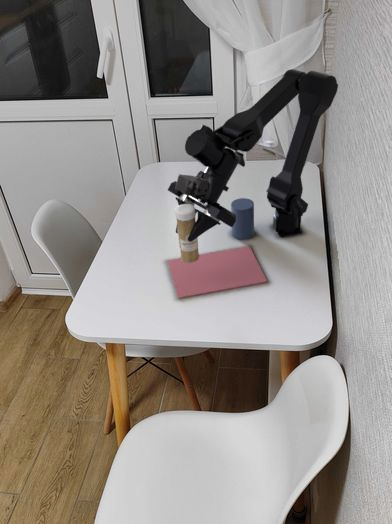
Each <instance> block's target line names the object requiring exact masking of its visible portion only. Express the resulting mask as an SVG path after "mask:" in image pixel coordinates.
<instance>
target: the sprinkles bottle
mask: <svg viewBox="0 0 392 524" xmlns="http://www.w3.org/2000/svg"><path fill="white" fill-rule="evenodd" d="M195 209H196V207H195V205H194V206H193V205H191V204H182V205H177V206H176V207H175V208H174V214H175V215H174V216H175V219H176V227H178V229H177V230H178V234H177V237H178V244H179V245H178V246H179V249H180V258H181V260H182V261H183V262H185V263H193V262H196V261H197V260H198V259H199V255H200V251H199V239H198V238H199V237H197V238H196V239H195V240H193V241H192V242H190V241H188V237H189V235H190V233H191V231H192V229H193V227H194V225H195V223H196V221H197V220H196V215H197V213H196V212H195Z"/></svg>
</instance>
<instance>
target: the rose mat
mask: <svg viewBox="0 0 392 524" xmlns="http://www.w3.org/2000/svg"><path fill="white" fill-rule="evenodd" d="M167 263H168V266H169V270H170V275H171V277H172V280H173V284H174V288H175V291H176V295H177V298H178V300H181V299H185V298H191V297H195V296H200V295H202V296H203V295H207V294H213V293H217V292H218V293H219V292H223V291H229V290H233V289H239V288H244V287H249V286H256V285H261V284H266V283H268V280H267V278H266V276H265V273H264V272H263V270H262V268H261V266H260V264H259V262H258V259H257V258H256V255H255V253H254V251H253V249H252V248H251V246H250V245H247V246H242V247H236V248H230V249H225V250H219V251H214V252H208V253H203V254H199V259H198V260H197V261H196V262H193V263H185V262H183V261H182V260H181V257H180V258H175V259H169V260H167Z"/></svg>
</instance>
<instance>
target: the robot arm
mask: <svg viewBox="0 0 392 524" xmlns="http://www.w3.org/2000/svg"><path fill="white" fill-rule="evenodd" d="M338 89H339V83H338V81H337V78H336V77H335V76H334V75H331V74H328V73H324V72H320V71H316V70H309V71H308V72H305V71H302V70H297V69H294V68H290V69H288V70H286V71H285V72H284V74H283V77H282V78H280V79H279V80H278V81H277V82H276V84H274V85H273V86H272V87H271V88H270V89H269V90H268V91H267V92H265V94H263V96H262V97H260V98H259V99H258V100H257V101H256V102H255V103H254V105H252V106H251V107H250V108H248V109H246V110H243V111H239V112H237V113H236V114H234V115H233V116H231V117H230V118H228V119H227V120H226V121H225V122H224V123H223V125H221V126H219V127H218V128H216V129H215V130H213V129H212V128H211V127H209V126H208V125H205V124H202V125H201V127H200V128H199V129H196V130H195V131H193V132H192V133H191V134H190V135H189V136H187V138H186V140H185V145H184V151H185V153H186V154H187V155H188V156H189V157H190V158H192V159H194V160H195V161H196V162H198V163H199V164H201V165H202V166H204V167H206V168H205V170H204V171H202V170H199V172H197V175H189V174H179V173H178V174H177V175H178V176H177V180H175V181H172V182H170V185H169V186H168V188H167V191H168V192H170V194H173V195H174V196H176V197H175V201H176V202H177V206H179V205H182V204H191V205H193V206H194V207H195V205H196V206H198V207H199V208H201V209H203V210H204V211H203V212H202V211H201V210H199V209H197V208H195V212H196V214H197V219H196V220H195V221H196V223H195V225H194V227H193V229H192V231H191V233H190V235H189V237H188V241H190V242H192V241H193V240H195V239H196V238H199V237H200V236H201V235H203V234H204V233H206V232H208V231H209V230H210V229H212V228H215V227H216V226H217V225H218V226H220V225H221V224H222V223H223V224H225V225H226V226H229V227H230V228H232V227H233V225H234V224H235V222H236V215H235V214H233V213H232V212H231V210H229V209H228V208H226V207H224V206H222V205H221V203H219V202H218V201H219V199H220V198H221V195H222V194H223V192H228V191H229V189H230V187H229V186H227V184H229V181H230V179H231V177H232V176H233V174H234V172H235V170H236V168H237V167H238V166H241V167H243V168H244V167H245V166H246V162H245V159H244V155H245V154H244V152H245V153H247V152H250V151H251V150H253V148H254V147H255V146H256V144H258V142H259V141H260V139H261V138H262V136H263V134H264V129H265V127H266V126H267V125H268V124H269V123H270V122H271V121H273V119H274V118H275V117H276V116H277V115H278V114H280V112H281V111H282V110H284V108H286V106H288V105H289V103H291V102H292V101H293V100H294V99H295V98H296V97H297V101H298V105H299V114H298V117H297V120H296V124H295V127H294V129H293V132H292V136H291V139H290V142H289V146H288V149H287V152H286V156H285V159H284V163H283V165H282V168H281V170H280V172H279V173H278V174H277V175H276V176H271V178H270V180H269V184H268V187H267V188H266V191H265V192H266V199H267V201H268V203H269V205H270V207H271V208H274V209H275V213H273V217H272V222H273V223H272V228H273V230H274V231H275V233H276V234H277V236H278V238H286V237H290V236H295V235H301V234H303V230H302V228H301V226H302V217H303V216H304V213H307V210H308V207H309V203H308V202H306V201H305V200H304V199H303V198H302V194H303V189H304V188H303V182H302V174H303V171H304V168H305V164H306V161H307V158H308V156H309V152H310V150H311V147H312V143H313V141H314V137H315V134H316V131H317V127H318V125H319V122H320V119H321V117H322V115H324V113H326V111H328V110H329V108H330V107H331V106H332V104H333V102H334V100H335V97H336V95H337V93H338ZM242 152H243V153H242ZM177 229H178V227H177V226H176V227H175V233H176V234H177V235H178V230H177Z"/></svg>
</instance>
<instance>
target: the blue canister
mask: <svg viewBox="0 0 392 524" xmlns="http://www.w3.org/2000/svg"><path fill="white" fill-rule="evenodd" d="M230 212H232V213H233V214H235V215H236V222H235V224H234V225H233V227H231V235H232V237H233V238H234V239H237V240H249V239H250V238H253V236H254V235H255V202H254V200H252V199H250V198H245V197H240V198H236V199H233V200H232V202H231V203H230Z"/></svg>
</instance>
